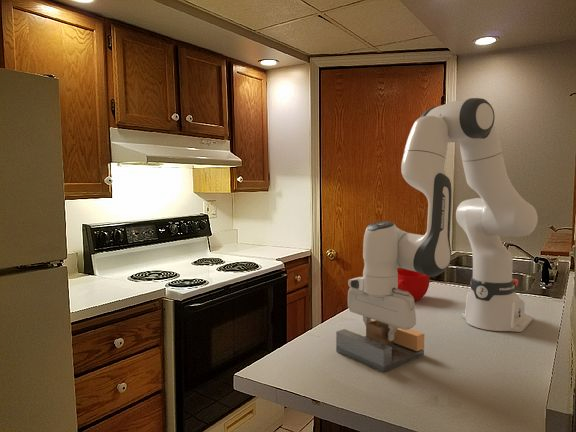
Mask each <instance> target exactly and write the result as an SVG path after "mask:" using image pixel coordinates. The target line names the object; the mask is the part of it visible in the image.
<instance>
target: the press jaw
mask: <svg viewBox="0 0 576 432" xmlns="http://www.w3.org/2000/svg"><path fill="white" fill-rule="evenodd" d="M372 321H375V320H374V319H371V322H372ZM394 343H396V344H399V345H401V346H404V347H407V348H409V349H412V350H415V351H419V350H421V349H425V333H424V332H421V331H418V330H415V329H413V328H411V329H408V330H404V329H401V328H398V329H397V330H396V332H395V333H394Z"/></svg>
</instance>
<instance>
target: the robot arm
mask: <svg viewBox="0 0 576 432" xmlns="http://www.w3.org/2000/svg"><path fill="white" fill-rule="evenodd" d="M494 111H495V110H494V108H493V106H492V104H490V102H489V101H488V100H486V99H485V98H480V97H473V98H472V97H471V98H468V99H460V100H453V101H450V102H447V103H445V104H441V105H439V106H438V105H437V106H433V107H430V108H428V109H427V110H425V111H424V112H422V114H421V115H420V116H419V118H417V119H416V120H415V121H414V123H413V125H412V126H411V128H410V132H409V134H408V137H407V139H406V143H405V146H404V149H403V150H404V151H403V155H402V159H401V165H400V169H401V170H400V172H401V175H402V178H403V179H404V180H405V182H406V183H407V184H408V185H409V186H411V187H412V188H414V189H415V190H417V191H419V192H421V193H422V194H423V195H424V196H425V197H426V199H427V205H428V207H427V218H426V219H427V221H426V222H427V223H426V231H425V234H417V233H412V232H407V231H404V230H403V229H400V228H399V227H397V225H396V224H395V223H394V222H392V221H385V220H383V221H376V222H373V223H370V224H368V225H367V226H366V228H365V232H364V234H363V243H362V258H363V263H364V266H363V270H362V275H361V276H358V277H354V278H350V279H348V281H347V283H348V287H349V289H348V290H347V308H348V310H349V311H350V312H351V313H352V314H353V313H354V314H357V315H359V316H362V321H363V323H364V325H365V326H366V323H369V322H371V319H374V320H377V321H380V322H383V323H386V324H389V328H390V331H389V332H388V333H385V336H386V337H385V339H386V340H388V341H393V340H394V333H395V332H396V330H397V329H398V328H401V329H404V330H408V329H413V328H414V327H415V326H416V325H417V317H416V315H417V314H416V307H415V301H414V298H413V296H412V295H411V294H410V293H409V292H408V291H403V290H400V289H398V271H397V270H398V269H399V268H400V269H407V270H411V271H415V272H418V273H421V274H423V275H426V276H429V277H430V278H434V277H437V276H439V275H440V274H442V273H444V272H445V271H446V270H447V269H448V268H449V266H450V264H451V260H452V249H451V248H452V246H451V241H450V240H451V239H450V237H451V219H452V216H451V215H452V199H453V198H452V193H453V192H452V183H451V180H450V177H448V176H447V175H446V171H445V164H446V158H447V152H448V144H449V143H457V142H458V143H459V149H460V156H461V157H460V158H461V161H462V167H463V170H464V177H465V181H466V184H467V186H468V187H469V188H471V190H472V191H474V192H475V193H477V194H478V196H479V197H474V198H470V199H469V198H468V199H464V200H463V201H461V202H460V203H459V204H458V206H457V208H456V210H455V219H456V223H457V224H458V225H459V226H460V228H462V230H463V232H464V233H465V234H466V236H467V238H468V242H469V244H470V248H471V253H472V277H470V278H471V279H470V289H471V290H470V291H468V292H467V295H466V300H465V301H466V302H465V303H466V304H465V311H464V312H462V314H461V317H462V318H463V319H465V322H466V323H467V324H468V325H470V326H472V327H474V328H479V329H480V330H486V331H491V332H492V331H493V332H494V331H495V332H514V333H515V332H517V333H522V332H524V330H525V329H527V327H528V325H530V324H531V322H533V316H532V315H530V314H527V313H525V311H526V310H525V308H526V307H525V302H524V300H523V299H522V298H521V297H520V296H519V295H518V294H517V292H516V288H515V287H517V286H518V284H519V280H518V279H514V278H513V266H514V265H513V264H514V263H513V262H514V261H513V260H514V258H513V254H512V253H511V251H510V250H509V249H507V248H506V247H505V246H504V244H503V243H502V242H503V241H502V240H501V237H506V238H519V237H527V236H529V235H531V234H532V233H533V232H534V231H535V229H536V227H537V225H538V221H539V220H538V219H539V218H538V213H537V210H536V208H535V207H534V206H533V204H530V203H529V201H527V200H525V199H524V197H522V196H521V194H519V192H518V191H517V190H516V189H515V186H513V184H512V181H511V180H510V178H509V175H508V173H507V171H508V170H507V168H506V163H505V159H504V153H503V149H502V144H501V140H500V138H499V134H498V132H497V129H496V127H495V125H494V124H495V118H496V117H495V116H496V115H495V112H494Z"/></svg>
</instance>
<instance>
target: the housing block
mask: <svg viewBox="0 0 576 432" xmlns="http://www.w3.org/2000/svg"><path fill="white" fill-rule="evenodd" d="M389 331H390V328H389V324H386V323H383V322H380V321H377V320H375V321H372V322H369V323H366V325H365V336H366V337H367V338H369V339H372V340H374V341H377V342H380V343H382V344H385V345H389V344H392V343H394V340H393V341H388V340H386V339H385V337H386V336H385V333H388V332H389Z"/></svg>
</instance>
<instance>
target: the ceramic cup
mask: <svg viewBox="0 0 576 432" xmlns="http://www.w3.org/2000/svg"><path fill="white" fill-rule="evenodd" d="M397 271H398V289H400V290H403V291H408V292H409V293H410V294H411V295H412V296H413V298H414V302H418V301H421V299H423V297H425V295H426V293H427V292H428V290H429V287H430V282H431V281H430V279H431V277H429V276H426V275H423V274H421V273H418V272H415V271H411V270H407V269H403V268H400V269H397Z"/></svg>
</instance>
